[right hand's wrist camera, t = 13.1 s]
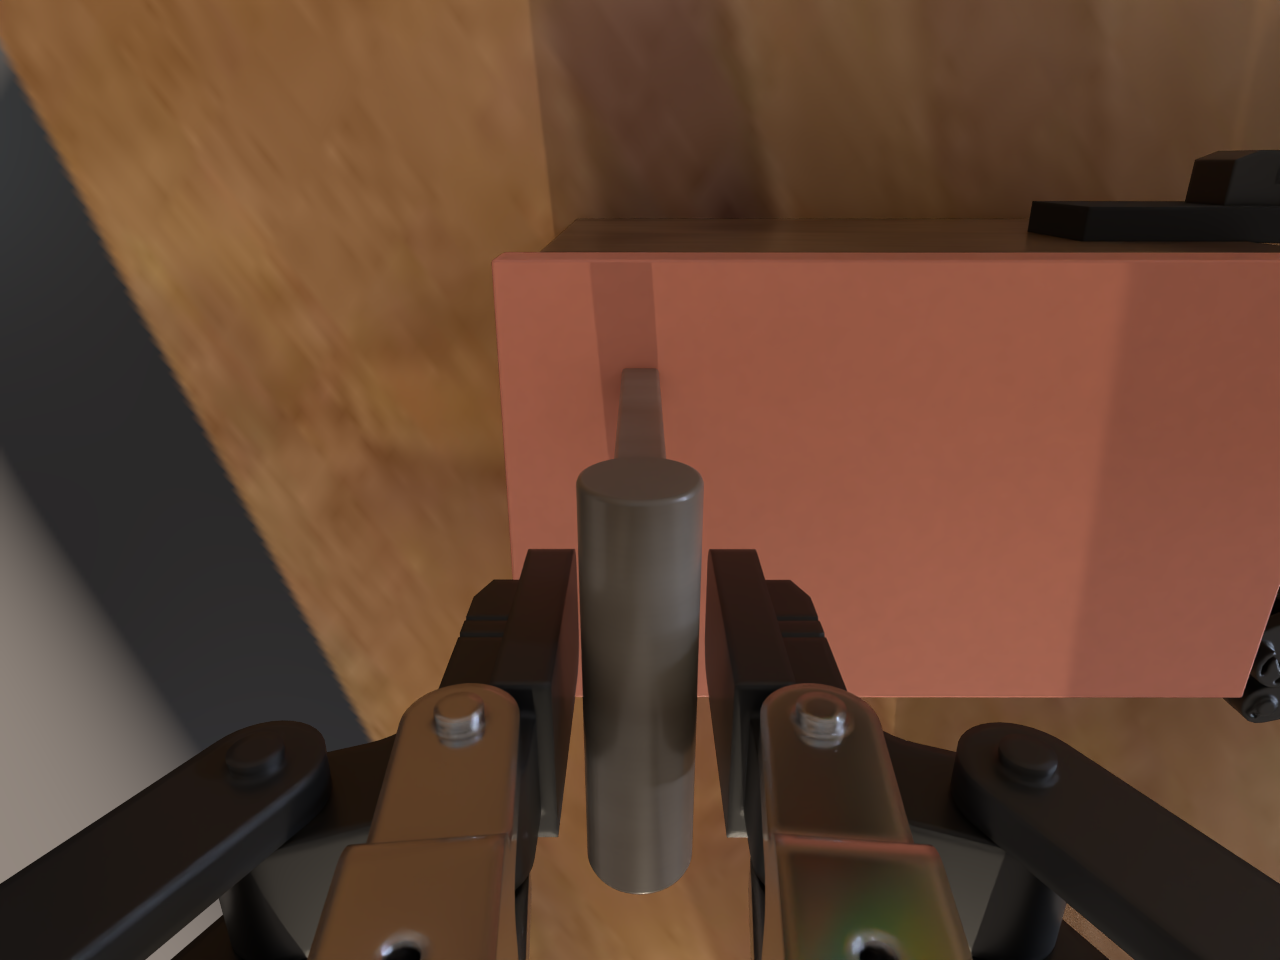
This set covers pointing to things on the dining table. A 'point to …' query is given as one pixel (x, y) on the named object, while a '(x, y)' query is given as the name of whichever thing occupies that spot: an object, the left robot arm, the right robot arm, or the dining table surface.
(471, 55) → the dining table surface
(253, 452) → the dining table surface
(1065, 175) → the dining table surface
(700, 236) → the chest
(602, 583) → the lid
